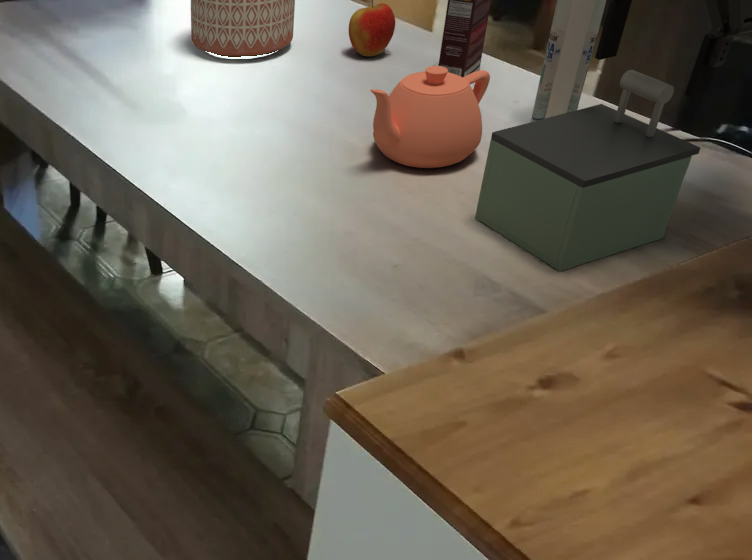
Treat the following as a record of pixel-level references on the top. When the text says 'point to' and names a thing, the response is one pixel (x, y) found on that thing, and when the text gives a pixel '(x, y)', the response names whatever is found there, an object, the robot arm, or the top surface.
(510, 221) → the green open box
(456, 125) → the teapot
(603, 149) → the lid
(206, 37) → the planter
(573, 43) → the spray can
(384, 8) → the apple
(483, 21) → the supplement box
